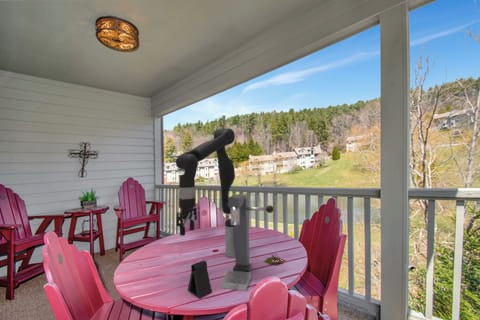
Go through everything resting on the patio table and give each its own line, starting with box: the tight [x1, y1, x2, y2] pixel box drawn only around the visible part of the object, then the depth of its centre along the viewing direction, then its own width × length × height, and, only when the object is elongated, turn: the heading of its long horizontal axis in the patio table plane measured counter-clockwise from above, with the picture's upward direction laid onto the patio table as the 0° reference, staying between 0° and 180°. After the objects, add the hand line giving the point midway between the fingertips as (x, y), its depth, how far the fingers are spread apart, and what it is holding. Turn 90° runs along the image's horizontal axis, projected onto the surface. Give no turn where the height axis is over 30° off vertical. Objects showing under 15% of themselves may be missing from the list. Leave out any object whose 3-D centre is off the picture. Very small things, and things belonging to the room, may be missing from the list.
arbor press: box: [220, 194, 275, 292], centre depth 102 cm, size 20×22×38 cm
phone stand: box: [187, 259, 213, 299], centre depth 92 cm, size 9×6×12 cm, turn 45°
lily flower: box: [263, 253, 284, 267], centre depth 120 cm, size 12×12×5 cm
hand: (187, 232), depth 100 cm, fingers open, 8 cm apart
